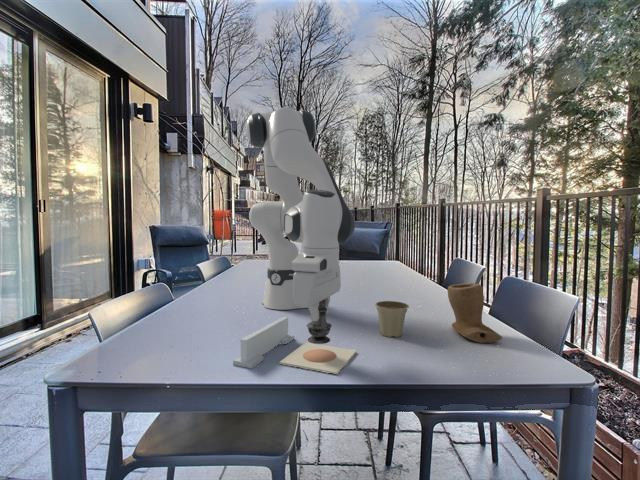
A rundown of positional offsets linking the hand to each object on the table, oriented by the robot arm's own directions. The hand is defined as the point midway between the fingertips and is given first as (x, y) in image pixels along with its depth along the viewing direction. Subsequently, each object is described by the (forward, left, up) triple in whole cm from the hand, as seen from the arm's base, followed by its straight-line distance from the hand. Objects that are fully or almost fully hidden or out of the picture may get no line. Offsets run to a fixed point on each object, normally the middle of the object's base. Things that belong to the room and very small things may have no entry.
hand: (319, 317), depth 86 cm
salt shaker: (0, 0, -6) cm, 6 cm away
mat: (0, 0, -10) cm, 10 cm away
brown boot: (-33, +33, -10) cm, 48 cm away
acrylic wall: (+1, -14, -10) cm, 17 cm away
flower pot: (-25, +12, -10) cm, 30 cm away
